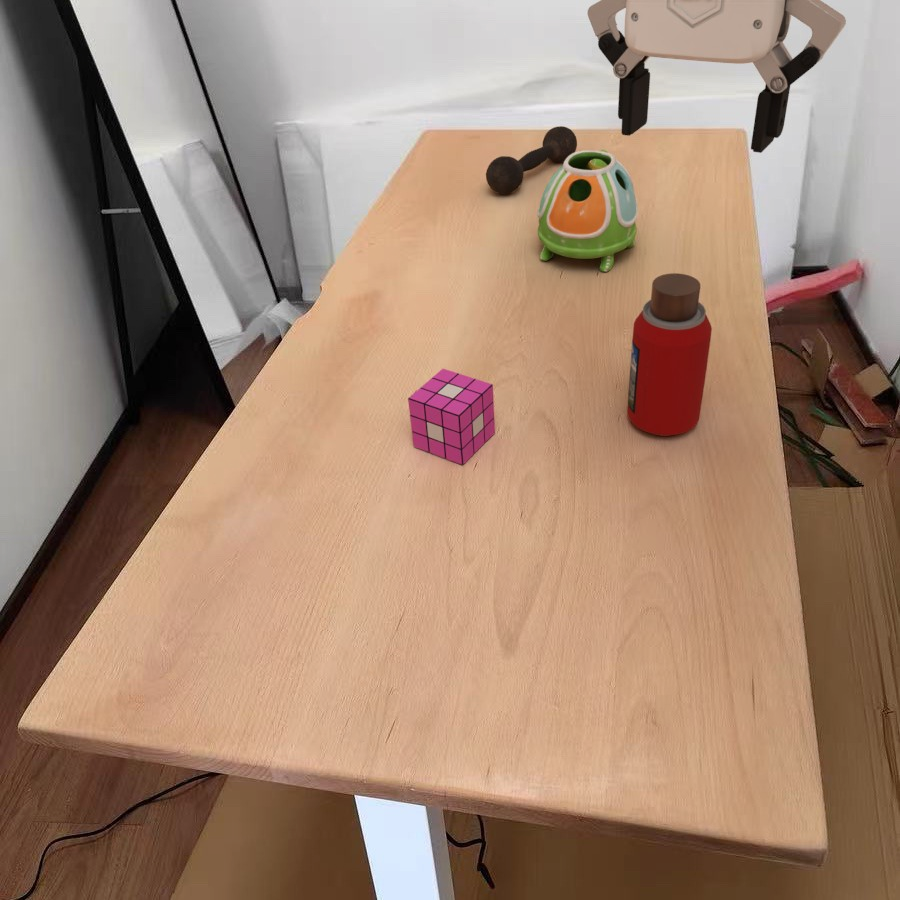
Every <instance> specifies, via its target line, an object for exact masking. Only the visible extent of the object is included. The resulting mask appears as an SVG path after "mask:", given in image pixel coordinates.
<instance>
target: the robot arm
mask: <svg viewBox="0 0 900 900" xmlns="http://www.w3.org/2000/svg"><path fill="white" fill-rule="evenodd" d="M624 9H625V15H624V34H623V33H622V32H621V31H620V30H619V29H618V27H617V26H618V24H617V20H616V17H617V14H618V13H619V12H621V11H622V10H623V11H624ZM587 17H588V20H589V23H590V25H591V27H592V30H593V32H594V35H595V37H597V40H598V41H597V46H598V49H599V50H600V52H601V53H602V54H603V56H604V57H605V58H606V60H607V61H608V62H609V64H610V65H611V66H612V70H613V74H614V76H615V77H616V79H617V78H618V79H619V81H618V82H619V84H618V105H617V106H618V108H617V117H618V119H619V120H621V135H622V136H627V137H629V136H631V135H633V134H634V133H636V132H637V131H639V130H640V129H641V128H643V127H644V126H645V125H647V123H648V115H649V114H648V113H649V102H650V101H649V99H650V87H651V86H650V84H651V72H650V68H646V67H645V65H646V64H645V63H646V62H647V61H648V60H649V59H650V58H661V59H670V60H671V59H673V60H682V61H683V60H684V61H696V62H707V63H720V64H721V63H722V64H734V65H735V64H736V65H737V64H739V65H741V64H750V63H753V64H754V67H755V68H756V70H757V72H758V73H759V75H760V76H761V79H762V80H763V82H764V83H765V85H764V89H763V90H762V91H760V92H759V93H758V96H757V102H756V108H755V116H754V124H753V130H752V136H751V143H750V150H752V152H753V153H760V154H761V153H763V152H764V151H765V150H766V149H767V148H768V147H769V146H770V145H771V144H772V143H773V142H774V139H775V138H776V139H778V138H779V137H781V135H782V133H783V130H784V126H785V121H786V116H787V115H786V114H787V107H788V102H789V96H790V90H791V85H792V84H794V83H795V82H796V81H797V80H799V79H800V78H801V77H803V76H804V75H806V73H808V72H809V71H810V70H811V69H812V68H814V67H815V66H816V65H818V64H817V63H819V62H821V60H822V59H823V58H824V56H825V54H826V53H827V51H828V50H829V49H830V48H831V46H832V45H833V44H834V42H835V41H836V39H837V37H838V36H839V35H840V33H841V32H842V31H843V29H844V28H845V26H846V22H847V20H846V17H845V16H844V15H843V14H842V13H840V12H839V11H838V10H836V9H834V8H833V7H831V6H830V5H828V4H827V3H825V2H824V1H822V0H599V1H597V2H595V3H594V4H592V5H591V6H589V7H588V9H587ZM792 17H793V18H795V19H797V21H800V22H802V23H803V24H805V25H806V26H807V27H809V28H810V29H811V33H812V34H811V36H810V39H809V41H808V42H807V43H806V45H805V47H804V48H803V50H801V51H800V52H799V53H798V54H797V55H796V56H794V57H792V55H791V54H790V52H789V50H788V48H787V46H785V44H784V41H785V39H786V38H787V35H788V32H789V30H790V29H789V28H790V24H791V20H792V19H791V18H792Z"/></svg>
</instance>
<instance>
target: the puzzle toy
mask: <svg viewBox="0 0 900 900" xmlns="http://www.w3.org/2000/svg"><path fill="white" fill-rule="evenodd" d="M407 403H408V411H409V418H410V427H411V438H412V444H413V447H414V448H416V449H419V450H422V451H424V452H428V453H430V454H433V455H435V456H437V457H440V458H442V459H446V460H448V461H451V462H454V463H456V464H458V465H461V466H463V465H465V464H466V463H467V461H469V459H470V458H472V456H474V454H476V453H477V451H478V450H480V448H481V447H483V446H484V444H485V443H486V442H488V441H489V439H491V437H492V436H493V435H494V434H495V433H496V426H495V403H494V384H493V383H490V382H487V381H483V380H481V379H478V378H474V377H471V376H468V375H465V374H462V373H458V372H456V371H452V370H449V369H446V368H442V369H441V370H439V371H438V372H437V373H435V374H434V375H433V376H432V377H430V379H429V380H428V381H426V382H425V383H424V384H423V385H422V386H421V387H419V388H418V389H417V390H416V391H415V392H413V394H411V395H410V396H409V397H408V398H407Z"/></svg>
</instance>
